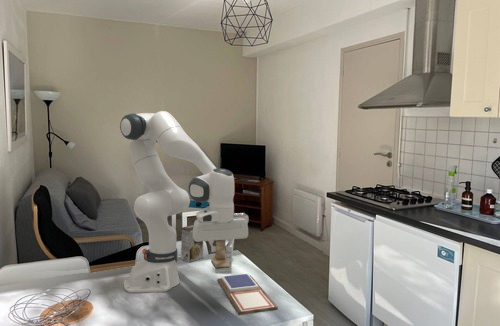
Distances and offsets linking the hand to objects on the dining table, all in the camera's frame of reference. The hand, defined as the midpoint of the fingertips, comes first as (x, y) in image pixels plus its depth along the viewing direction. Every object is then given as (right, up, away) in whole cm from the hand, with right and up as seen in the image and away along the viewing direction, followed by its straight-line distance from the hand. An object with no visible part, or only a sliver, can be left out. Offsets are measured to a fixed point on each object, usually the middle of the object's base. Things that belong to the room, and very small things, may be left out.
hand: (220, 251), depth 140 cm
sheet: (+11, -21, +6) cm, 24 cm away
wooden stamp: (0, -5, 0) cm, 5 cm away
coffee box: (-18, -15, +49) cm, 55 cm away
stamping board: (+9, -20, +13) cm, 25 cm away
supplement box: (-1, -17, +36) cm, 40 cm away
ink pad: (+6, -19, +20) cm, 28 cm away
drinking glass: (-1, -16, +49) cm, 51 cm away
